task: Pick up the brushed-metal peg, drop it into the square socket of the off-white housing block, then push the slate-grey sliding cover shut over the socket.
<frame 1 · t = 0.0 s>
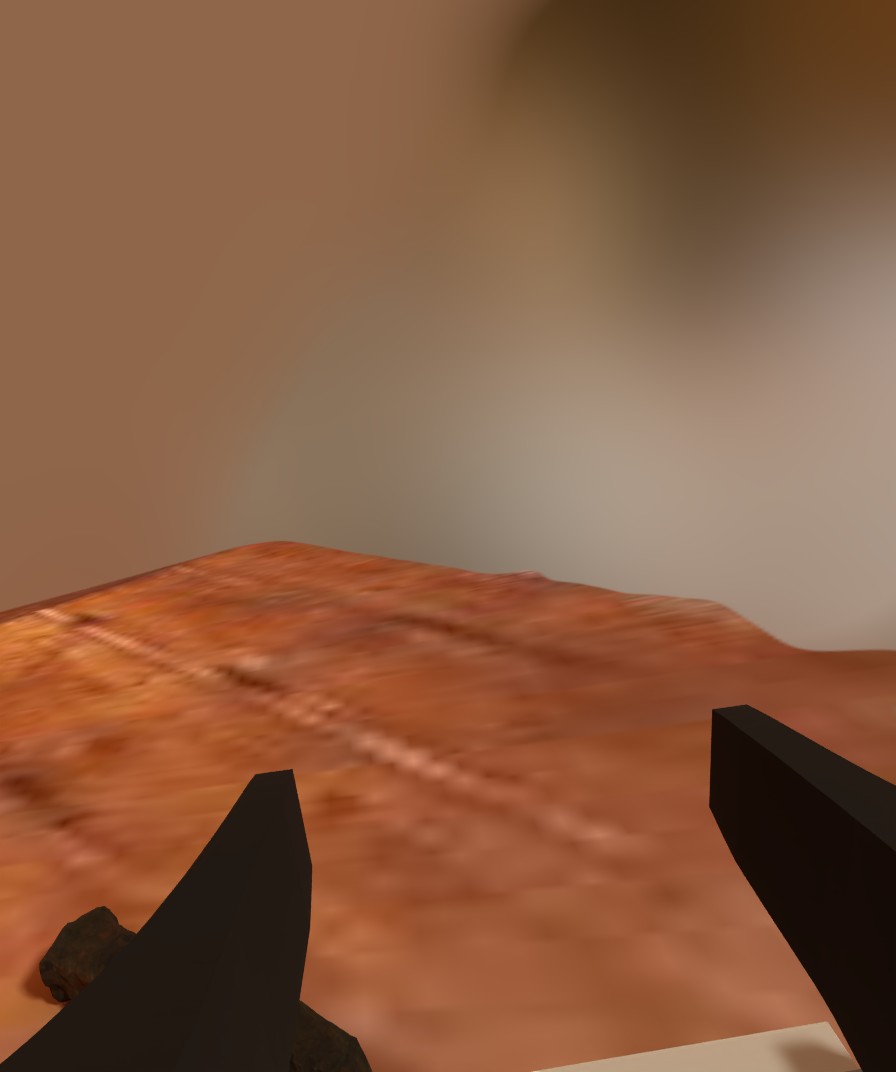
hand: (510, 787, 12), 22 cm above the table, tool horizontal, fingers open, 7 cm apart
hand tool: (225, 1052, 33), on the table
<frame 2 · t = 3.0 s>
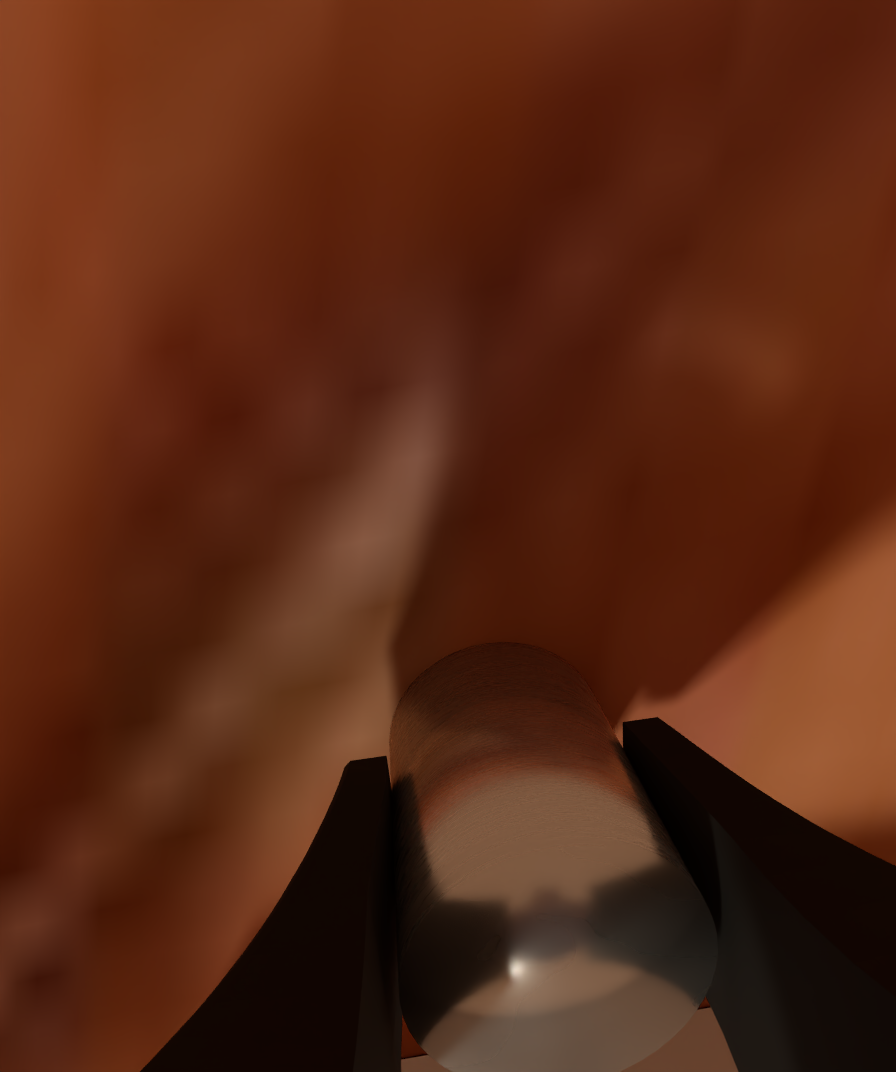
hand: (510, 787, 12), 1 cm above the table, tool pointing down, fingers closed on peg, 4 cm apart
peg: (496, 738, 14), on the table, touching gripper
when the fingers open (7 cm above the table, at t = 5.9 s): peg drops 5 cm, resting in housing.
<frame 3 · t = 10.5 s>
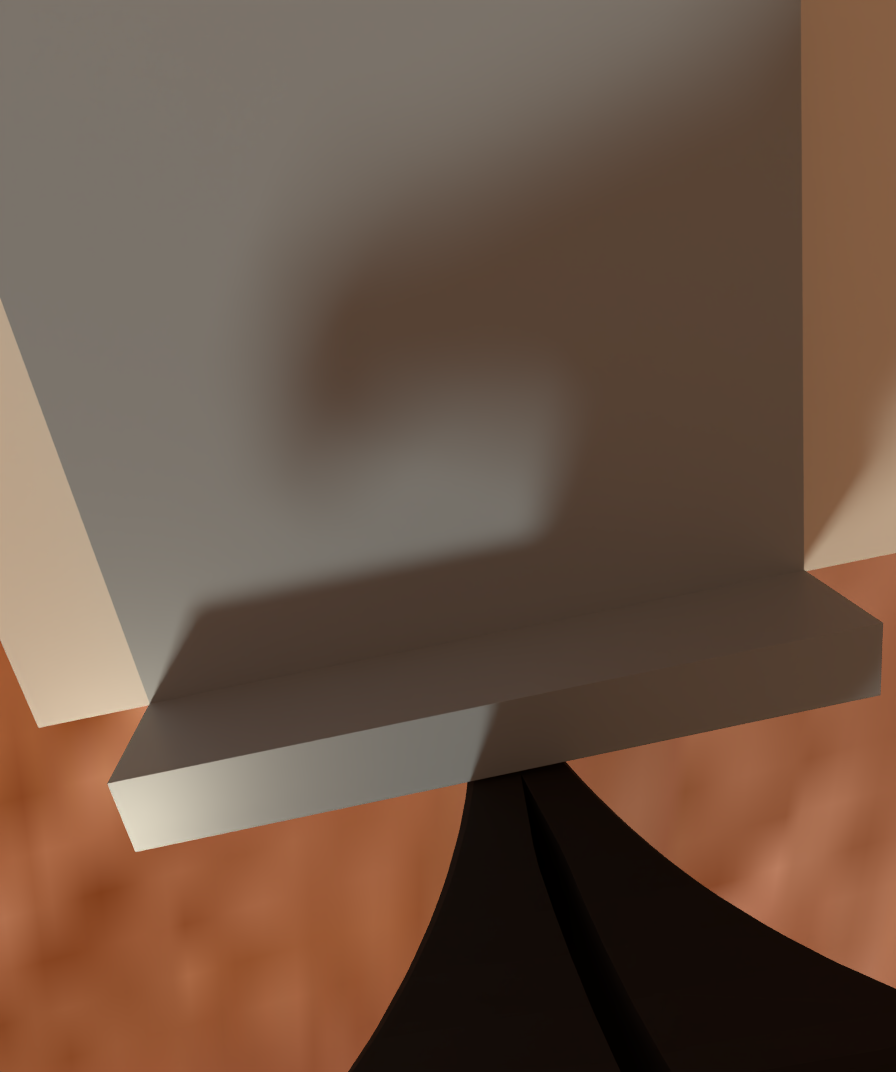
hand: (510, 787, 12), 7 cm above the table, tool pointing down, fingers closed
cover: (439, 379, 10), point 7 cm above the table, slide at 8.1 cm, touching gripper
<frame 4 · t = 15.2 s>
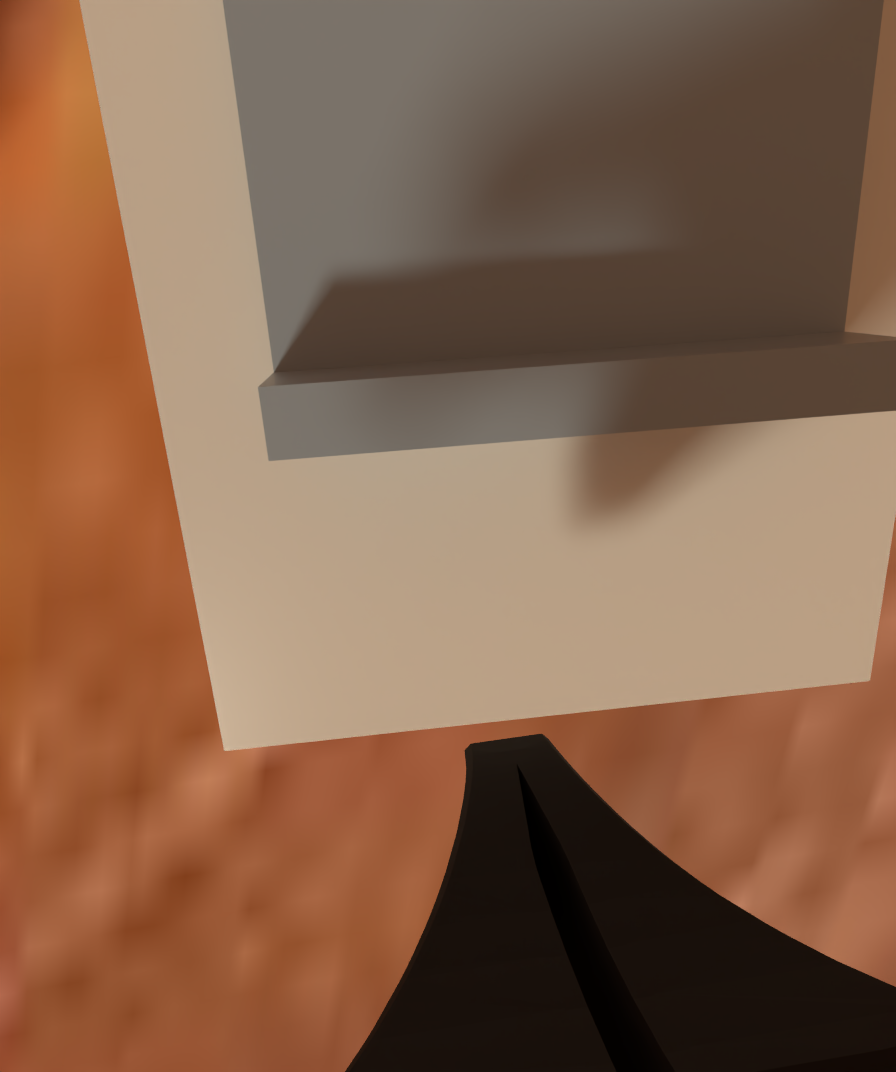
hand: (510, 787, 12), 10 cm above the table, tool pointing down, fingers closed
cover: (575, 82, 12), point 7 cm above the table, slide at 0.0 cm
housing: (501, 156, 19), on the table
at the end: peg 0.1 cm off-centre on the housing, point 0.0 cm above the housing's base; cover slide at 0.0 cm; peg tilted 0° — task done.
